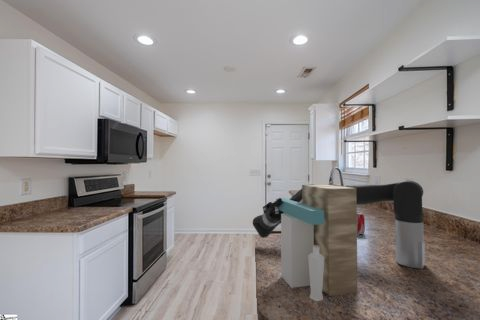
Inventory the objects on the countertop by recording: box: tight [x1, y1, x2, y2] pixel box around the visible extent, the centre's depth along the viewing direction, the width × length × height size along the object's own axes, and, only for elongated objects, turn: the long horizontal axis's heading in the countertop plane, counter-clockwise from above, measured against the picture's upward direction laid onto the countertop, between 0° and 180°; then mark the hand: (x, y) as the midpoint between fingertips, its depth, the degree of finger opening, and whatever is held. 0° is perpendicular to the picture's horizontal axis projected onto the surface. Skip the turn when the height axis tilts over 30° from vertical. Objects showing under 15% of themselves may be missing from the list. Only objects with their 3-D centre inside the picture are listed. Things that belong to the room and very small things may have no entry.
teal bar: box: [275, 197, 324, 225], centre depth 80 cm, size 26×4×4 cm, turn 14°
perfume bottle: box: [308, 245, 324, 302], centre depth 69 cm, size 5×4×15 cm
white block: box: [280, 213, 314, 289], centre depth 79 cm, size 8×8×22 cm
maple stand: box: [301, 184, 359, 297], centre depth 79 cm, size 16×10×32 cm, turn 14°
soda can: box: [357, 211, 366, 235], centre depth 136 cm, size 7×7×12 cm
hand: (288, 200), depth 87 cm, fingers open, 5 cm apart
